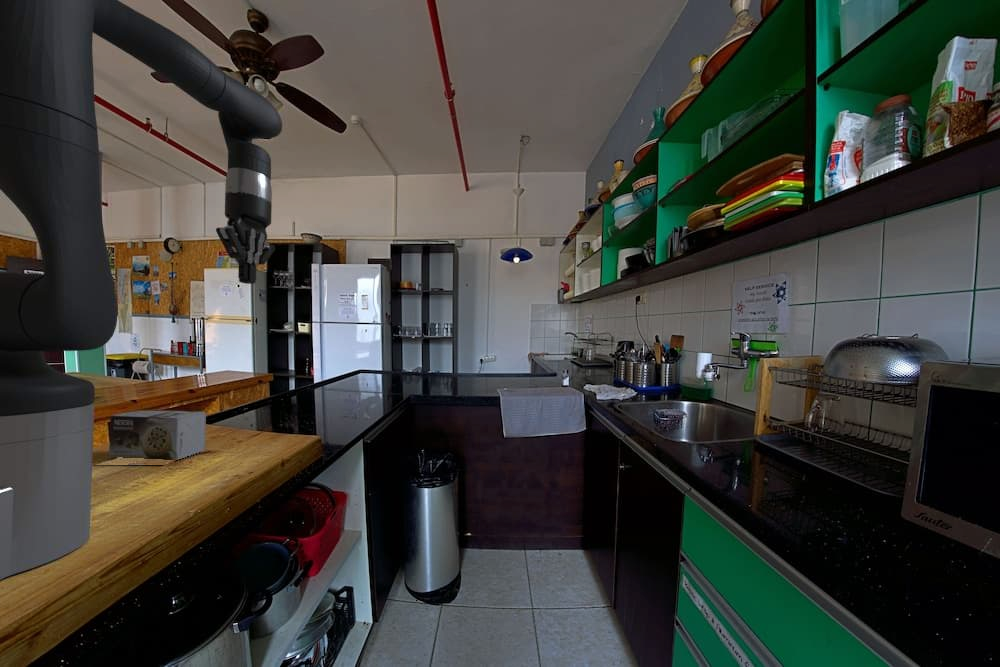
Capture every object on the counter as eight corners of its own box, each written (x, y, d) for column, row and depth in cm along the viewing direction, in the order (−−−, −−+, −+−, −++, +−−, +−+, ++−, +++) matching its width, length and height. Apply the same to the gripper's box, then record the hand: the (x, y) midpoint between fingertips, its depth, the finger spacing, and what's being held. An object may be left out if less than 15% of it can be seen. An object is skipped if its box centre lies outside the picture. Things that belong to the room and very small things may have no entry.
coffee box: (207, 410, 74) (144, 408, 76) (177, 417, 68) (108, 414, 69) (206, 451, 74) (143, 447, 76) (175, 461, 68) (107, 457, 69)
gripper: (255, 211, 73) (253, 288, 73) (201, 182, 60) (198, 276, 60) (288, 211, 73) (287, 288, 73) (241, 182, 60) (239, 277, 60)
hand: (247, 283), depth 66 cm, fingers closed
